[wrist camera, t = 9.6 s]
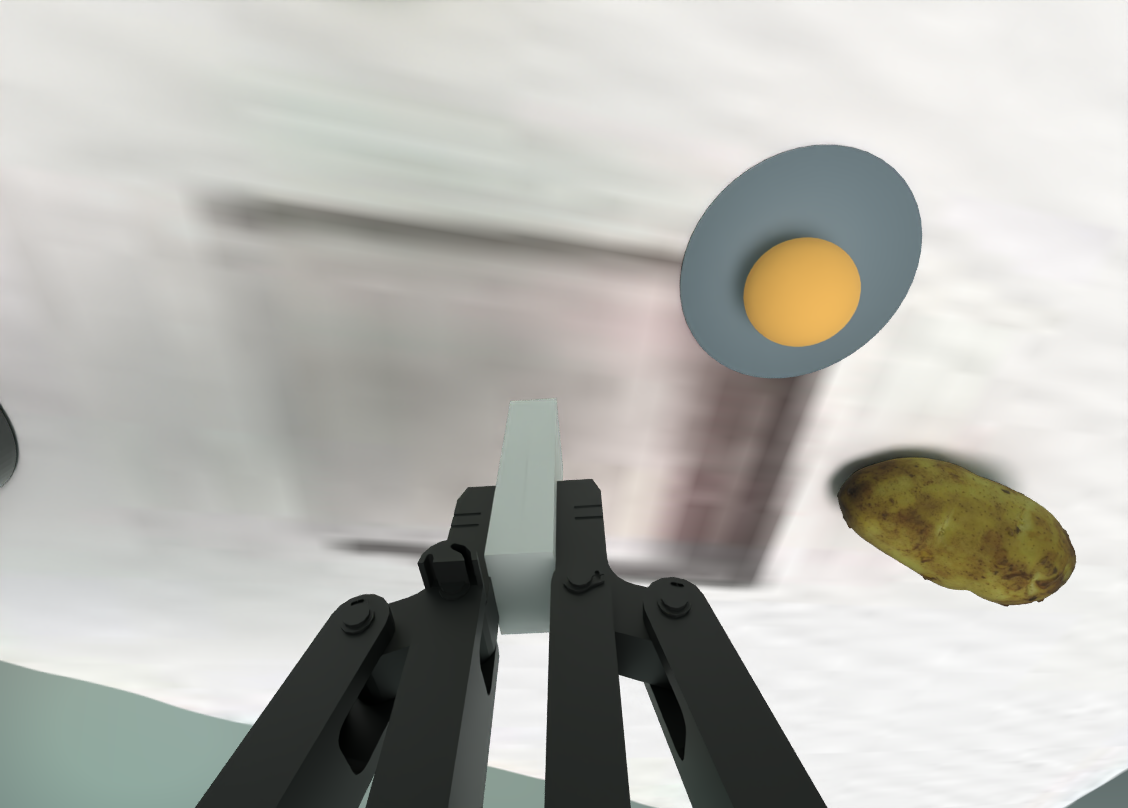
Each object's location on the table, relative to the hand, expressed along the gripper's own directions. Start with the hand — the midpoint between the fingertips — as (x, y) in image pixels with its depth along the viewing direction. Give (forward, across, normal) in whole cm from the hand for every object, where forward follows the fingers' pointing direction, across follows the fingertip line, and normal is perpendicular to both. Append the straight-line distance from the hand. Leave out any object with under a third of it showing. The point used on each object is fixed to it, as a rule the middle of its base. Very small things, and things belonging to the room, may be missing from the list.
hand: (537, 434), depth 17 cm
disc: (+14, +14, 0) cm, 20 cm away
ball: (+12, +13, 0) cm, 18 cm away
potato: (+15, +25, -16) cm, 33 cm away
